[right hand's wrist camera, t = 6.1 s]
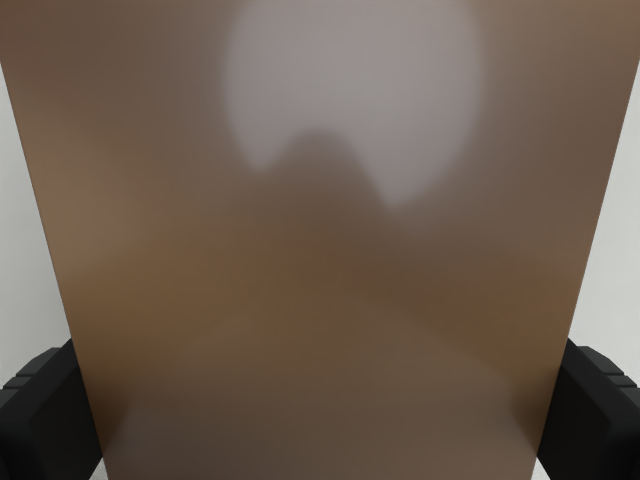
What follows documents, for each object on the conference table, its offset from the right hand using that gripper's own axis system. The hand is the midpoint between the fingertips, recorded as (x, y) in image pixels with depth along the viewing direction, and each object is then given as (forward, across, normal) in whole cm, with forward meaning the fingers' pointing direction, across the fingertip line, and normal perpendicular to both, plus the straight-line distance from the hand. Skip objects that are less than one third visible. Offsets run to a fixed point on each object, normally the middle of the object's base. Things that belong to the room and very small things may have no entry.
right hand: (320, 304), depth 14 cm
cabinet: (+3, 0, -7) cm, 8 cm away
